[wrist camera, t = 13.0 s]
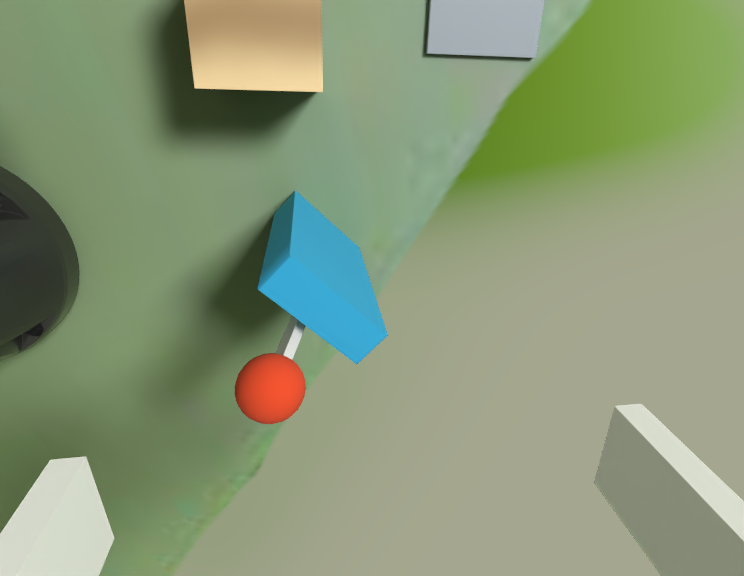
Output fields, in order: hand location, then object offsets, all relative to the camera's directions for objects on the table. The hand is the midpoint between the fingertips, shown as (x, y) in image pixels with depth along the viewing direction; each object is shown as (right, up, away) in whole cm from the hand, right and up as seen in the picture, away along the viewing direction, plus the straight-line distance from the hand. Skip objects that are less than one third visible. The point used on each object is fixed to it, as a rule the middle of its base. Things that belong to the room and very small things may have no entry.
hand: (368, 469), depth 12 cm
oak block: (-7, +22, +19) cm, 30 cm away
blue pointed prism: (-6, +8, +25) cm, 27 cm away
